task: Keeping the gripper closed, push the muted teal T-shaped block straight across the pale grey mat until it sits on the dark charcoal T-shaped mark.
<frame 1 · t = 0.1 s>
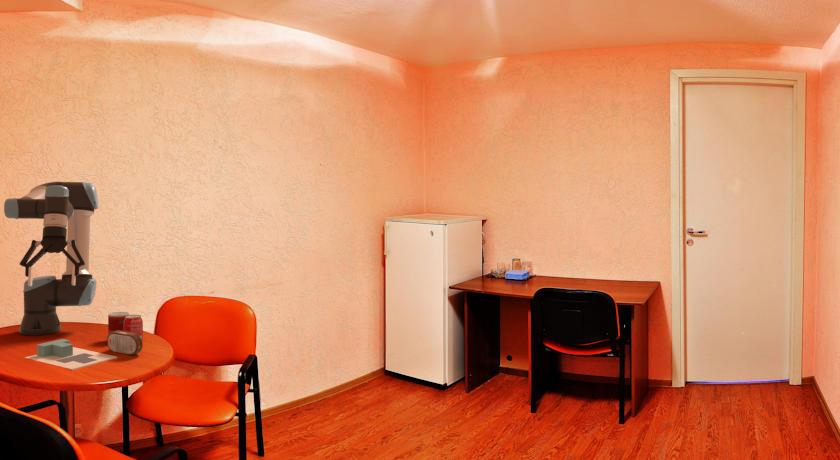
hand: (51, 285, 222), 28 cm above the table, tool tilted 20°, fingers open, 13 cm apart
tin: (124, 354, 238), on the table
t block: (58, 354, 232), resting on mat
canned food: (118, 340, 256), on the table
mat: (71, 358, 229), on the table
soda can: (133, 346, 249), on the table
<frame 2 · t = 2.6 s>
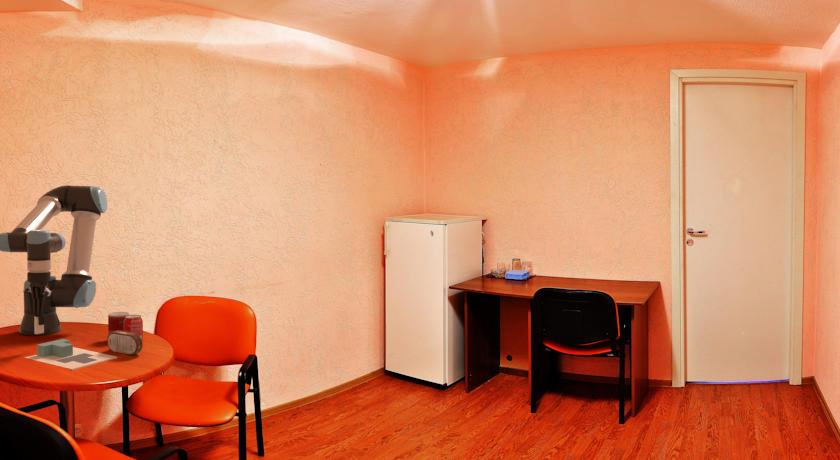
hand: (39, 333, 236), 7 cm above the table, tool pointing down, fingers closed
nothing on the table moved.
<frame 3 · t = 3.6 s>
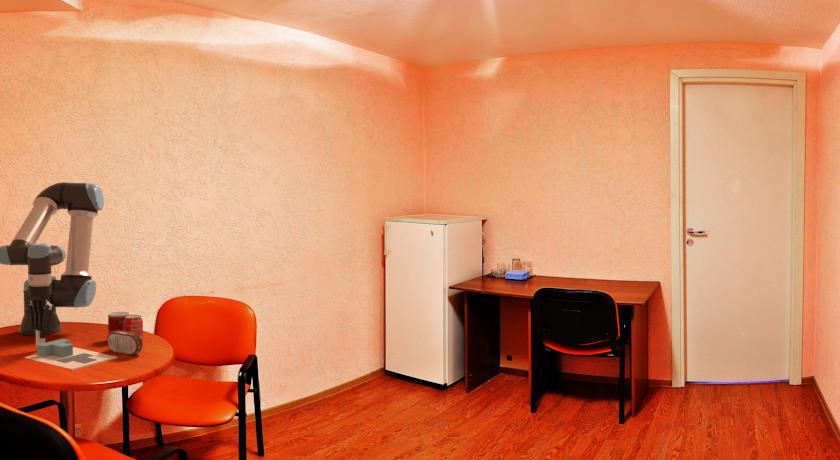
hand: (40, 346, 236), 2 cm above the table, tool pointing down, fingers closed
nothing on the table moved.
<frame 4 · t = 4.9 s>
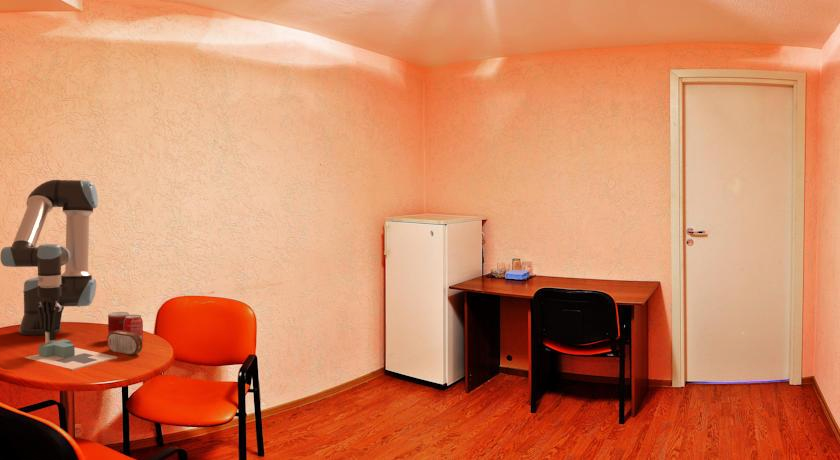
hand: (50, 348, 234), 2 cm above the table, tool pointing down, fingers closed
t block: (60, 354, 232), point 1 cm above the table, touching gripper
everything else where it was.
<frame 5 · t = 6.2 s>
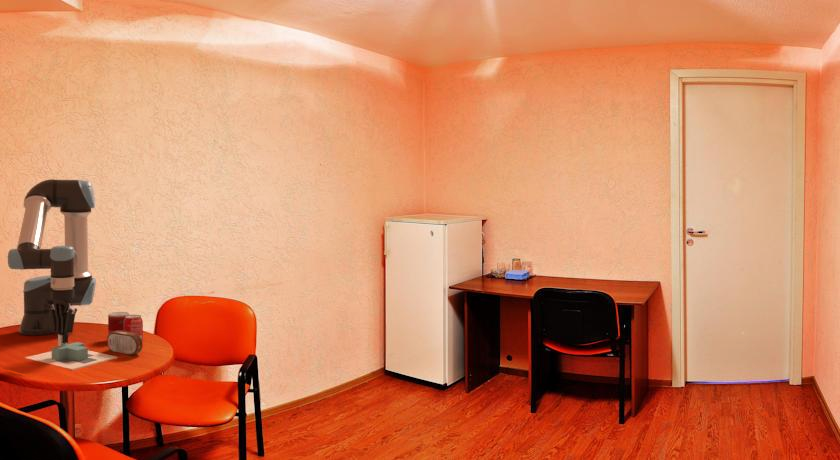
hand: (63, 351, 231), 2 cm above the table, tool pointing down, fingers closed
t block: (73, 357, 229), point 1 cm above the table, touching gripper
everything else where it was.
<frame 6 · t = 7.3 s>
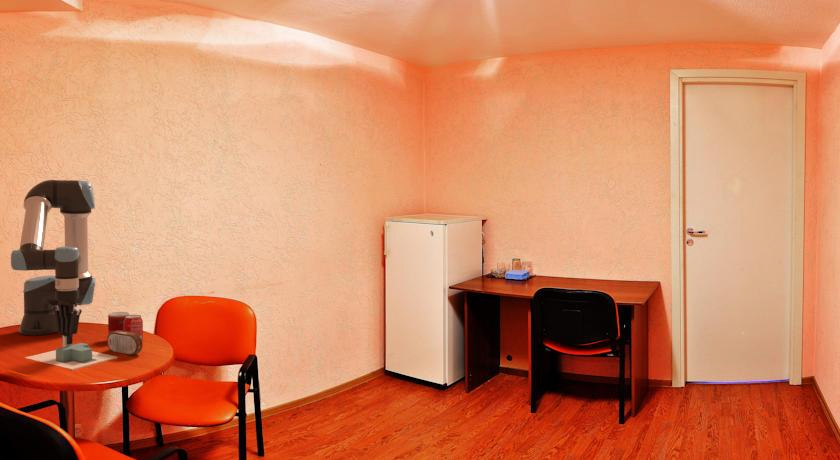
hand: (67, 352, 230), 2 cm above the table, tool pointing down, fingers closed
t block: (77, 358, 228), resting on mat, touching gripper
everything else where it was.
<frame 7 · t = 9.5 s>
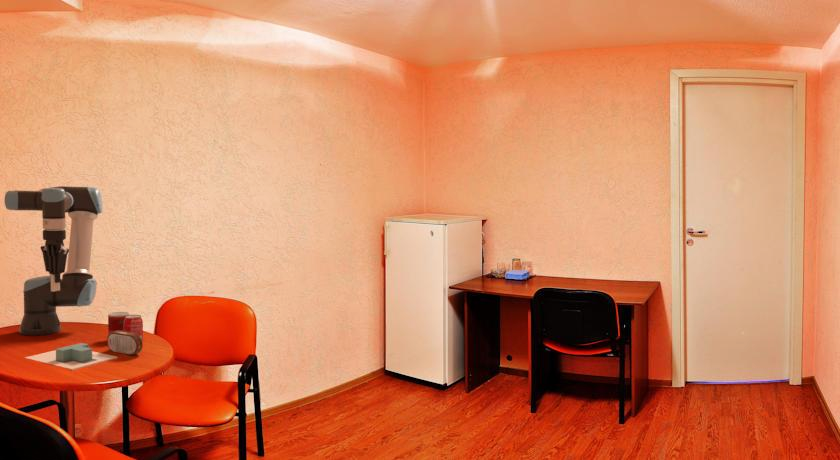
hand: (55, 290, 238), 23 cm above the table, tool pointing down, fingers closed
t block: (77, 358, 228), resting on mat
everything else where it was.
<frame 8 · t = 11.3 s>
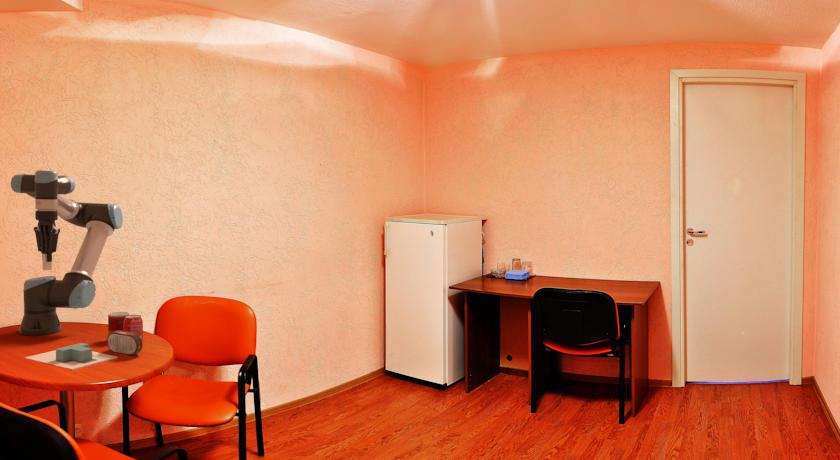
hand: (47, 269, 246), 29 cm above the table, tool pointing down, fingers closed
nothing on the table moved.
at the end: t block 1.4 cm from the target spot on the mat, point 0.5 cm above the mat's base; t block tilted 0° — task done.
